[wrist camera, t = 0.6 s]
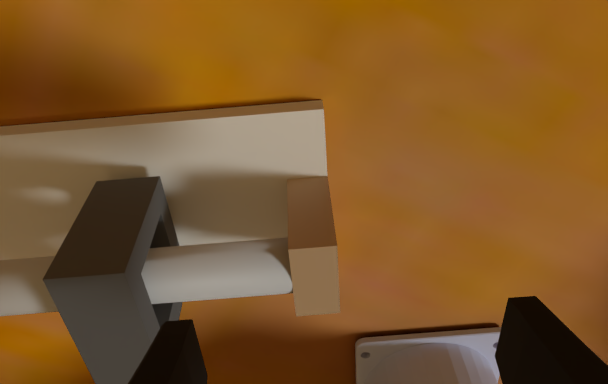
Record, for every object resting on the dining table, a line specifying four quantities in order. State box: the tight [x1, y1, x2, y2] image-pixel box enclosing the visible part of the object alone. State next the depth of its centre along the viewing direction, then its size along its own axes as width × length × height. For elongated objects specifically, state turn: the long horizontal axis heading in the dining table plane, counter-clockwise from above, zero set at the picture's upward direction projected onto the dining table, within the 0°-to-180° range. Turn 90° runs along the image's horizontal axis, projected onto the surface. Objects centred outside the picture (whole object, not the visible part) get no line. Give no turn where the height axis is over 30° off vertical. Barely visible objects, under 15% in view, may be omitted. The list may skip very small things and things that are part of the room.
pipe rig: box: [0, 100, 340, 316], centre depth 19 cm, size 22×9×5 cm, turn 94°
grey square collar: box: [42, 176, 182, 384], centre depth 18 cm, size 2×5×5 cm, turn 4°
